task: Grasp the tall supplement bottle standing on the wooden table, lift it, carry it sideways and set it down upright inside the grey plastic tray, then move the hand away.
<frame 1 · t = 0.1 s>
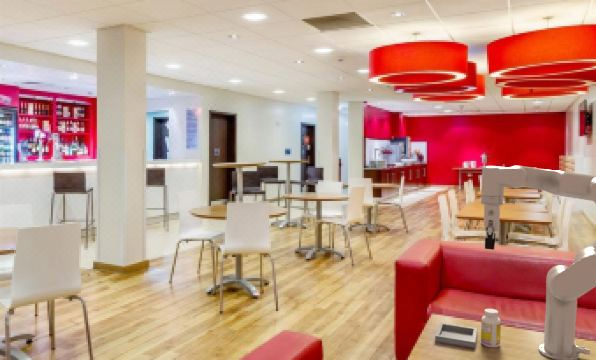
hand: (490, 246, 177), 37 cm above the table, tool pointing down, fingers open, 9 cm apart
tray: (456, 338, 184), on the table
supplement bottle: (490, 344, 179), on the table
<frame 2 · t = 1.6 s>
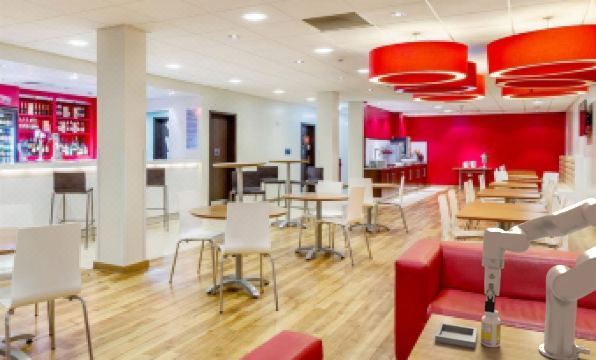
hand: (489, 307, 178), 14 cm above the table, tool pointing down, fingers open, 9 cm apart
nothing on the table moved.
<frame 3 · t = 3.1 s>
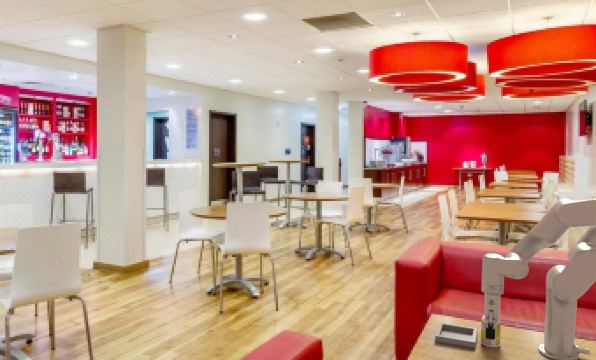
hand: (490, 334, 178), 4 cm above the table, tool pointing down, fingers closed on supplement bottle, 6 cm apart
supplement bottle: (490, 344, 179), on the table, touching gripper
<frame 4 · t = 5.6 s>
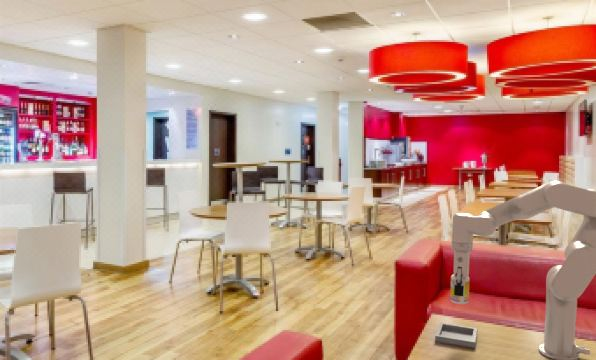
hand: (459, 292, 182), 18 cm above the table, tool pointing down, fingers closed on supplement bottle, 6 cm apart
supplement bottle: (459, 302, 182), point 14 cm above the table, touching gripper
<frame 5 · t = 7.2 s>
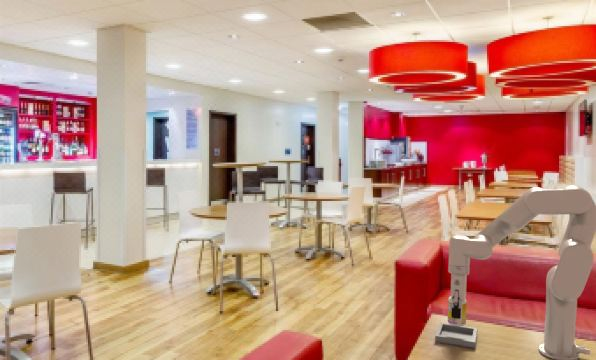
hand: (456, 314, 183), 9 cm above the table, tool pointing down, fingers closed on supplement bottle, 6 cm apart
supplement bottle: (456, 324, 183), point 6 cm above the table, touching gripper
when the fingers open (6 cm above the table, at t = 8.4 s): supplement bottle drops 2 cm, resting on tray.
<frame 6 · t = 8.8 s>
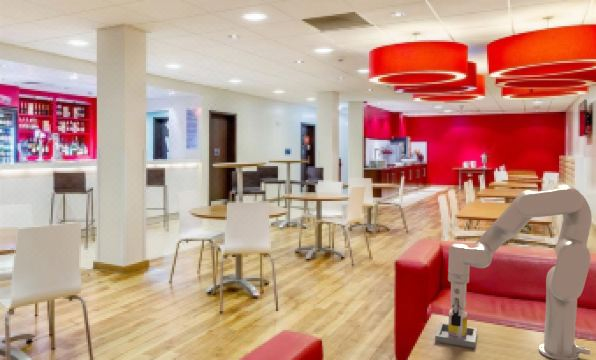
hand: (457, 321, 183), 7 cm above the table, tool pointing down, fingers open, 9 cm apart
supplement bottle: (457, 337, 184), resting on tray
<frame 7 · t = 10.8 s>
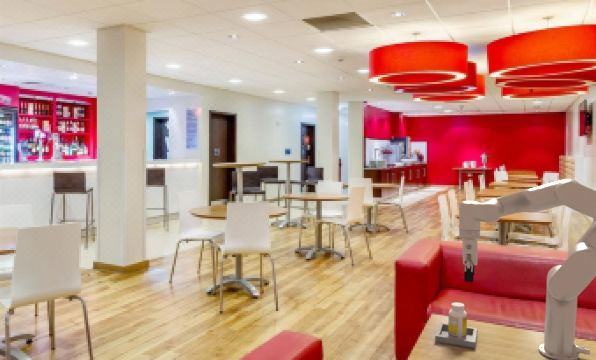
hand: (469, 278, 183), 23 cm above the table, tool pointing down, fingers open, 9 cm apart
nothing on the table moved.
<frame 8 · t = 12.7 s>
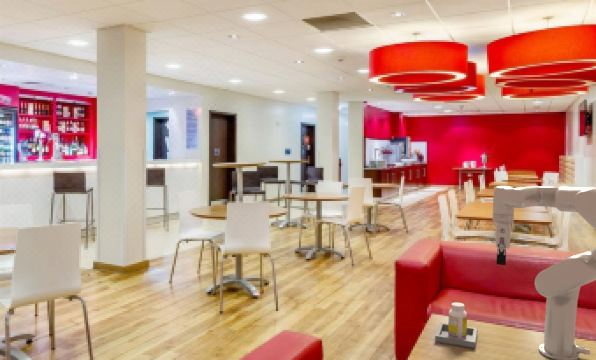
hand: (501, 261, 187), 28 cm above the table, tool pointing down, fingers open, 9 cm apart
nothing on the table moved.
at the end: supplement bottle 0.2 cm off-centre on the tray, point 0.3 cm above the tray's base; supplement bottle tilted 0°; the gripper is holding nothing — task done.
